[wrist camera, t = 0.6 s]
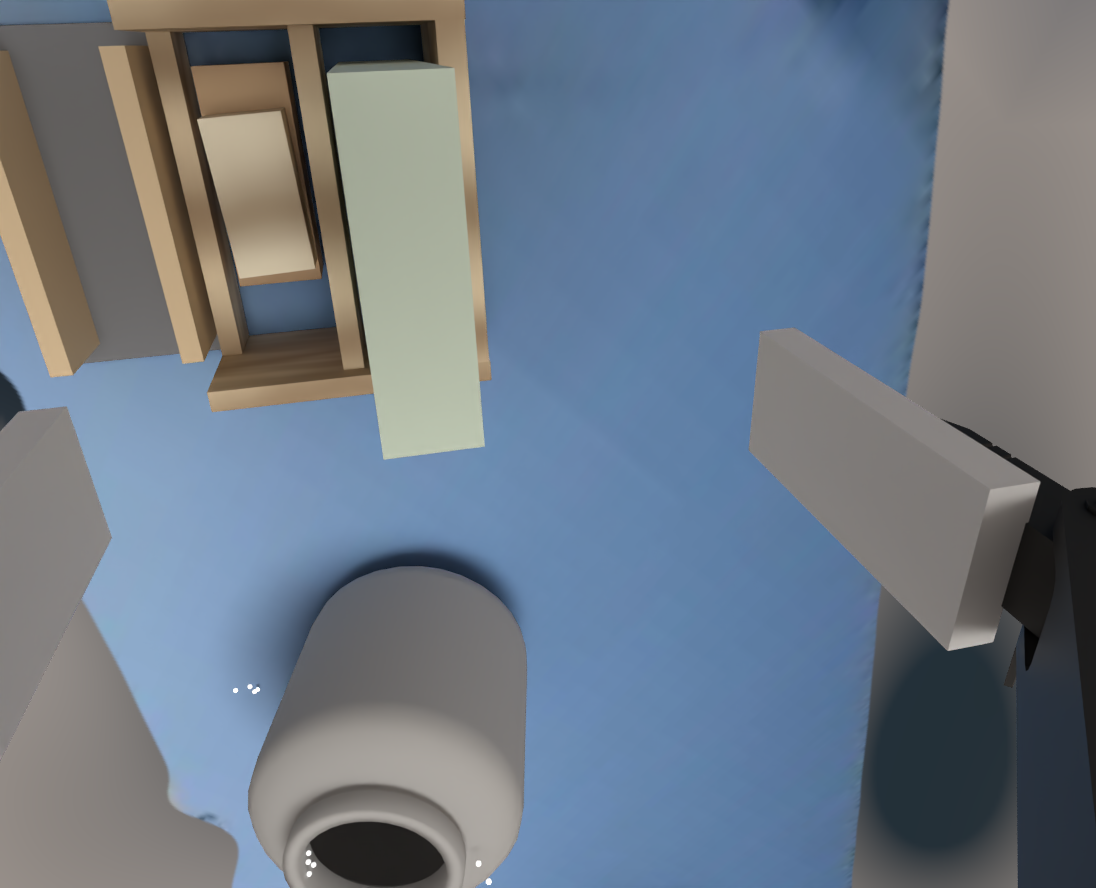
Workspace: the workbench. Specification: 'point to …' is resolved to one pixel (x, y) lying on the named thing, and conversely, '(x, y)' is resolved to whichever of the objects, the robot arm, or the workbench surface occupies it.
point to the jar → (397, 739)
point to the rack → (303, 7)
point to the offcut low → (257, 91)
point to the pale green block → (410, 250)
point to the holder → (96, 200)
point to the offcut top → (259, 191)
